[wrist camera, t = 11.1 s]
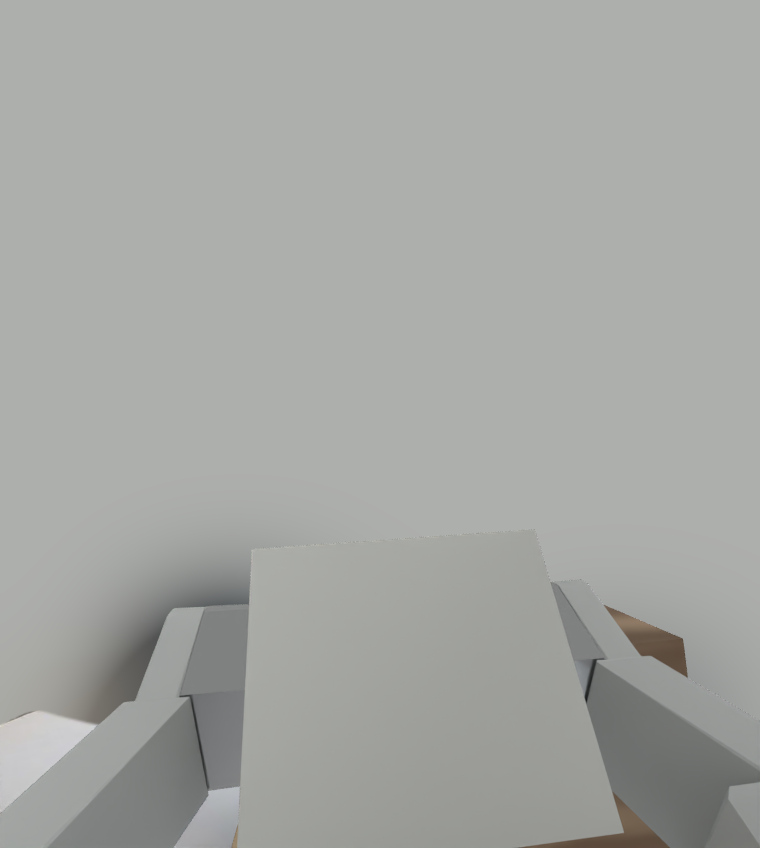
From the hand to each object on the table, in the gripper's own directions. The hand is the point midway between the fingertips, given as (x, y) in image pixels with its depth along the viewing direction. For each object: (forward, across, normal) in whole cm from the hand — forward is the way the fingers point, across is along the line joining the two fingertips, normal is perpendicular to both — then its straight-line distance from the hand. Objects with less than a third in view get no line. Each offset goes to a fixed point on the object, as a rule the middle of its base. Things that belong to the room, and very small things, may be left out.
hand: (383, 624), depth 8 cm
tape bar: (+4, 0, +11) cm, 12 cm away
